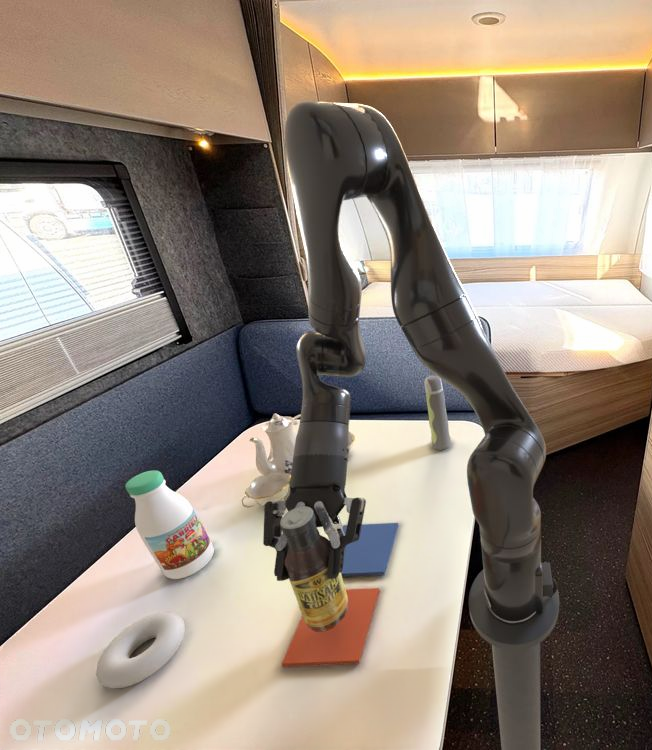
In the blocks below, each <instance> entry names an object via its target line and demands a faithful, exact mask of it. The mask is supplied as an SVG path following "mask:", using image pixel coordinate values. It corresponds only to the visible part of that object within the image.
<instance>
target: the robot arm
mask: <svg viewBox="0 0 652 750" xmlns="http://www.w3.org/2000/svg"><path fill="white" fill-rule="evenodd" d="M284 152H285V159H286V165H287V171H288V176H289V182H290V187H291V193H292V198H293V202H294V208H295V213H296V218H297V223H298V229H299V232H300V236H301V241H302V246H303V251H304V256H305V262H306V271H307V281H308V282H307V284H308V285H307V296H308V298H307V299H308V300H307V301H308V304H307V305H308V306H307V307H308V311H307V312H308V322H309V324H310V327H311V328H312V329H313V330H310V331H306V332H305V333H303V334H302V335H301V336H300V337H299V339H298V341H297V343H296V345H295V346H296V347H295V348H296V349H295V352H296V353H295V355H296V360H297V365H298V370H299V375H300V380H301V388H302V396H301V397H302V398H301V399H302V400H301V410H300V414H301V416H300V417H299V424H298V430H297V432H296V435H297V436H296V440H295V447H294V455H293V463H292V470H291V478H290V482H289V492H288V493H289V494H288V495H287V497H286V499H284V501H268V502H267V503H266V504H265V505H264V511H263V536H262V537H263V538H262V544H263V546H264V547H270V548H272V549H274V550H275V551H276V554H275V563H274V570H273V573H274V574H273V575H274V577H276V581H277V582H282V581H287V580H289V575H288V571H287V568H286V566H285V558H286V556H287V553H288V549H289V546H288V541H287V538H286V535H284V534H283V533H282V529H281V526H280V522H281V519H282V517H283V516H284V515H285V514H286V511H287V512H289V511H290V510H292V509H295V508H297V507H302V506H306V507H310V508H311V509H312V510H313V511H314V514H315V517H316V520H315V523H316V526H317V528H322V529H323V531H324V533H325V534H326V535H327V537H328V538H327V539H328V540H329V541H330V543H331V545H332V549H330V550H329V561H328V572H327V579H334V578H336V577H338V575H339V573H340V572H342V570H343V563H344V551H345V547H346V546H347V545H348V544H350V543H352V542H355V541H358V540H359V538H360V532H361V527H362V524H363V520H364V516H365V515H364V514H365V510H366V504H367V500H366V498H364V497H348V496H347V494H346V485H347V474H348V473H347V472H348V461H349V454H350V453H349V432H350V431H349V430H350V428H349V427H350V419H351V418H350V417H351V405H352V397H351V394H350V392H349V391H348V390H346V389H344V388H341V387H339V386H335V385H331V384H328V383H325V382H324V381H323V380H321V379H320V377H319V376H331V377H346V378H350V377H351V378H353V377H355V376H357V375H359V374H361V372H363V370H364V369H365V366H366V364H367V350H366V346H365V342H364V339H363V336H362V332H361V328H360V327H361V326H360V314H361V304H362V303H361V302H362V295H363V294H362V293H363V292H362V291H363V288H362V280H361V276H360V273H359V270H358V268H357V266H356V264H355V262H354V261H353V258H352V257H351V255H350V254H349V252H348V251H347V249H346V247H345V245H344V242H343V240H342V238H341V234H340V216H341V211H342V206H343V202H344V201H349V200H354V199H359V198H365V197H366V198H367V200H368V201H369V203H370V204H371V206H372V208H373V210H374V212H375V214H376V215H377V217H378V220H379V223H380V224H381V227H382V229H383V231H384V233H385V236H386V239H387V242H388V248H389V255H390V256H389V257H390V299H391V305H392V310H393V314H394V316H395V319H396V321H397V324H398V325H399V327H400V329H401V331H402V332H403V334H404V336H405V338H406V340H407V341H408V343H409V345H410V347H411V349H412V351H413V353H414V354H415V356H416V357H417V359H418V360H419V362H420V363H421V364H422V365H423V366H424V367H425V368H426V369H428V370H429V372H431V373H432V374H434V376H438V377H439V378H441V381H443V382H445V383H446V384H448V385H449V386H451V387H452V388H454V389H455V390H456V391H457V392H459V393H460V394H461V395H462V396H463V397H464V398H465V400H467V402H468V403H469V405H470V406H471V408H472V409H473V411H474V413H475V415H476V416H477V418H478V421H479V423H480V425H481V427H482V430H483V433H484V436H483V438H482V439H481V441H479V443H478V445H477V446H476V447H475V449H474V450H473V451H472V453H471V454H470V456H469V458H468V460H467V464H466V479H467V480H466V481H467V486H468V492H469V498H470V505H471V510H472V514H473V516H474V518H475V520H476V522H477V524H478V525H479V536H480V545H481V546H480V547H481V556H482V567H483V569H484V578H485V588H486V592H485V589H484V593H485V595H486V603H487V607H488V609H489V611H490V613H491V614H492V615H493V616H494V617H495V618H496V619H497V620H499V621H501V622H503V623H506V624H511V625H517V624H522V623H525V622H527V621H529V620H530V619H532V618H533V617H534V616H535V615H536V614H542V613H543V597H545V596H549V597H550V598H552V596H553V595H554V594H555V593H556V591H557V589H558V588H559V586H558V583H557V581H556V580H555V578H554V577H552V570H551V564H550V562H542V512H541V508H540V505H539V503H538V502H537V501H536V499H535V497H534V487H535V484H536V482H537V480H538V478H539V476H540V473H541V472H542V469H543V467H544V464H545V462H546V459H547V445H546V441H545V438H544V436H543V434H542V432H541V430H540V428H539V427H538V425H537V424H536V422H535V420H534V419H533V417H532V416H531V414H530V411H528V409H527V408H526V406H525V405H524V402H523V401H522V400H521V398H520V397H519V395H518V393H517V392H516V390H515V388H514V387H513V385H512V383H511V381H510V380H509V377H508V376H507V374H506V372H505V370H504V368H503V366H502V363H501V361H500V359H499V358H498V356H497V354H496V352H495V350H494V348H493V346H492V344H491V342H490V340H489V339H488V336H487V334H486V332H485V330H484V328H483V325H482V323H481V321H480V318H479V316H478V314H477V312H476V310H475V308H474V306H473V304H472V302H471V300H470V298H469V295H468V294H467V292H466V290H465V289H464V286H463V285H462V283H461V281H460V279H459V277H458V276H457V274H456V272H455V269H454V267H453V265H452V263H451V261H450V258H449V257H448V254H447V252H446V250H445V248H444V246H443V244H442V241H441V239H440V237H439V235H438V232H437V231H436V228H435V226H434V224H433V222H432V219H431V218H430V214H429V213H428V210H427V208H426V205H425V202H424V200H423V197H422V195H421V192H420V190H419V187H418V184H417V182H416V179H415V176H414V173H413V171H412V168H411V166H410V163H409V160H408V158H407V156H406V153H405V150H404V148H403V146H402V143H401V141H400V139H399V137H398V134H397V133H396V131H395V129H394V128H393V126H392V124H391V122H389V120H388V119H387V117H385V115H384V114H383V113H381V112H380V111H379V110H377V109H376V108H374V107H372V106H370V105H366V104H364V103H363V104H362V103H356V102H355V103H354V102H352V103H351V102H350V103H348V102H332V101H320V100H319V101H315V100H314V101H313V100H310V101H309V100H308V101H303V102H299V103H297V104H295V105H294V106H293V107H292V108H291V109H290V110H289V111H288V115H287V118H286V120H285V125H284ZM344 507H346V512H347V513H348V519H347V520H348V521H347V523H346V525H347V529H346V534H344V532H343V524H342V520H341V519H340V516H339V515H340V513H341V512H342V510H343V509H344Z"/></svg>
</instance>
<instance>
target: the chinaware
mask: <svg viewBox="0 0 652 750" xmlns="http://www.w3.org/2000/svg"><path fill="white" fill-rule="evenodd" d="M300 416H301V413H300V414H297V415H295V416H294V417H292V416H287V415H286V416H282V415H279V414H277V413H275V412H274V413H273V415H272V417H271V419H270V420H268V421H267V422H265V423H264V424H263V426H262V431H264V432H265V434H266V435H267V437H268V439H269V445H270V449H269V450H270V451H269V455H268V457H267V453H266V449H265V448H266V447H265V445H264V442H263V440H261V439H260V438H258V437H251V438H249V439H248V441H249V442H251V443H253V444H254V445H255V466H256V469H257V471H258V472H259V474H261V475H259V476H257V477H255V478H254V479H253V480H252V481H251V482H250V485H249V487H248V488H245V491H244V494H245V495H244V496H243V497H242V498H241V506H243V507H245V508H253V507H254V506H256V505H257V504H259V507H263V506H265V504H266V503H267V502H268V501H284V500H285V498H286V496H288V495H287V494H288V493H289V490H290V478H291V470H292V463H293V455H294V447H295V440H296V436H297V432H296V430H295V427H294V426H297V425H299V421H298V419H300ZM355 441H356V437H355V434H353V433H352V432H351V431H349V454H350V453H351V452H352V449H353V444H354V443H355ZM245 498H247V499H253V500H254V503H253V504H250V505H247V504H244V500H245Z"/></svg>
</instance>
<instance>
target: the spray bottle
mask: <svg viewBox="0 0 652 750" xmlns="http://www.w3.org/2000/svg"><path fill="white" fill-rule="evenodd" d="M423 384H424V390H425V400H426V406H427V413H428V422H429V423H428V424H429V429H430V434H431V437H430V438H431V445H432V447H433V449H435V450H436V451H437V450H438V451H442V450H446V449H448V448H449V447H450V446H451V444H452V440H451V436H450V429H449V428H450V427H449V420H448V415H447V409H446V399H445V392H444V388H443V383H442V379H441V378H439V377H438V376H436V375H429V376H427V377H426V378H425V379H424V383H423Z"/></svg>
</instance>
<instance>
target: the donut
mask: <svg viewBox="0 0 652 750" xmlns="http://www.w3.org/2000/svg"><path fill="white" fill-rule="evenodd" d="M185 628H186V624H185V620H184V619H183V618H182V617H181V616H180V615H179V614H177V613H174V612H170V611H163V612H156V613H152V614H150V615H146V616H145V617H143V618H141V619H139V620H137V621H135V622H133V623H132V624H130V625H129V626H127V627H126V628H124V629H123V630H122V631H121V632H120V633H118V634H117V635H116V636H115V637H114V638H113V639H112V640H111V642H109V643H108V645H107V646H106V647H105V649H104V650H103V651H102V653H101V655H100V656H99V659H98V661H97V664H96V672H95V675H96V677H97V680H98V682H99V684H100V685H101V686H103V687H106V688H108V689H121V688H122V689H123V688H127V687H130V686H133V685H135V684H139V683H140V682H142V681H144V680H146V679H147V678H149V677H150V676H153V675H154V674H155V673H157V672H158V671H159V670H160V669H162V667H163V666H165V665H166V664H167V663H168V662H169V661H170V659H171V658H172V657H173V656H174V655H175V653H177V650H178V649H179V647H180V646H181V644H182V643H183V639H184V637H185V633H186V629H185ZM151 639H154V641H153V643H152V644H151V645H150V646H149V647H148V648H147V649H146V650H144V651H143V652H142V653H140V654H138V655H136V656H134V657H131V656H132V654H133V653H134V651H135V650H136V649H138V648H139V647H140V646H141V645H142V644H144V643H145V642H147V641H149V640H151Z"/></svg>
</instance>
